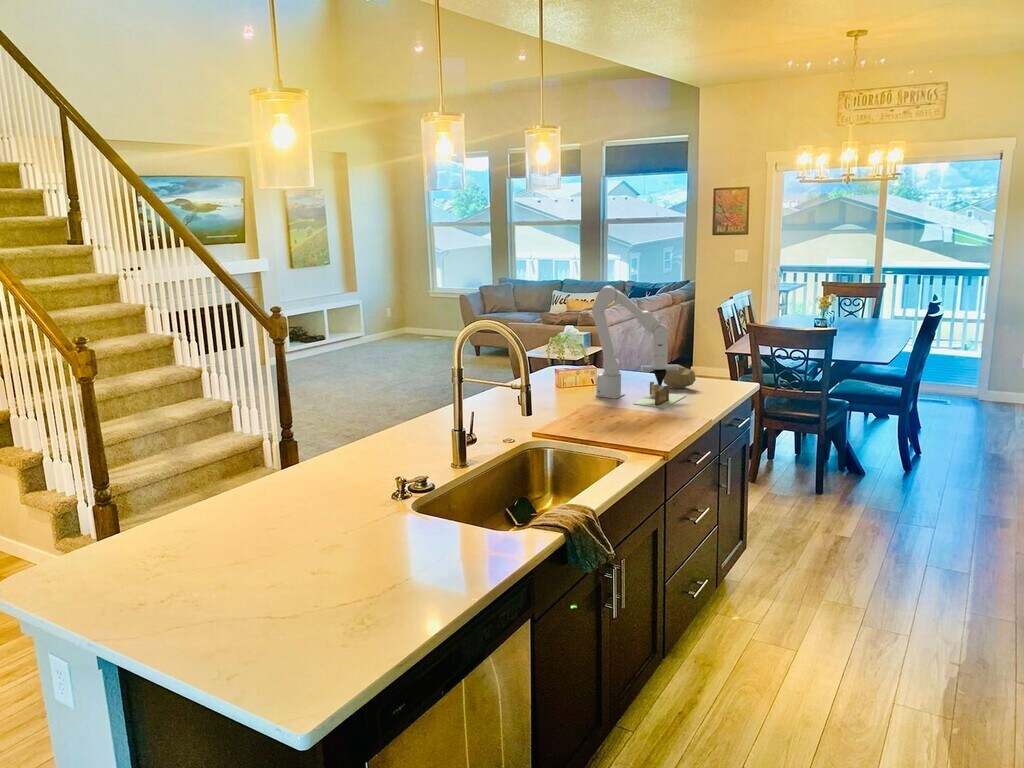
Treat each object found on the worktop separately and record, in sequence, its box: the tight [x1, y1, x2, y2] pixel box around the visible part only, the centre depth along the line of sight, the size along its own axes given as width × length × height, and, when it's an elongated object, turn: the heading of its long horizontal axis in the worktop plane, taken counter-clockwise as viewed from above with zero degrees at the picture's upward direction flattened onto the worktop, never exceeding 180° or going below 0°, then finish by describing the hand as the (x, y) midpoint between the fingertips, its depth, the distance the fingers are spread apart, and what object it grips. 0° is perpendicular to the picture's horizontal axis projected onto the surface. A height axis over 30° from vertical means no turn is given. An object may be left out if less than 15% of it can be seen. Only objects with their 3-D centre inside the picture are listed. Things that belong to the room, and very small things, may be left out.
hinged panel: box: [649, 381, 665, 396], centre depth 303 cm, size 8×2×5 cm, turn 28°
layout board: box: [633, 392, 687, 409], centre depth 300 cm, size 13×22×1 cm, turn 147°
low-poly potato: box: [663, 364, 697, 390], centre depth 319 cm, size 15×11×12 cm
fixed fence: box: [655, 385, 670, 406], centre depth 295 cm, size 2×11×6 cm, turn 147°
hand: (659, 388), depth 305 cm, fingers closed
